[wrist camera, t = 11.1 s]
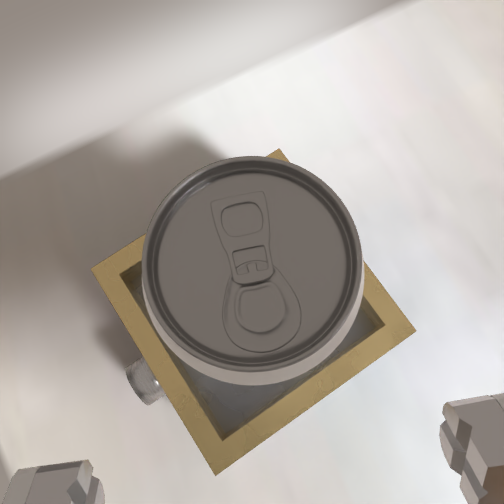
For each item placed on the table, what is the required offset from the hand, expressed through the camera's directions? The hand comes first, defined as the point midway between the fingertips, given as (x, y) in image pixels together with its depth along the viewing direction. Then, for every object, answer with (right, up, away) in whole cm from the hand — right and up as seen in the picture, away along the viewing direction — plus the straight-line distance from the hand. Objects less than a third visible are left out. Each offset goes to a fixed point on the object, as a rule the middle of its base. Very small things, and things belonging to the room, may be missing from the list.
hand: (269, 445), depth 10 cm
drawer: (0, +1, +18) cm, 18 cm away
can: (0, +2, +13) cm, 13 cm away
